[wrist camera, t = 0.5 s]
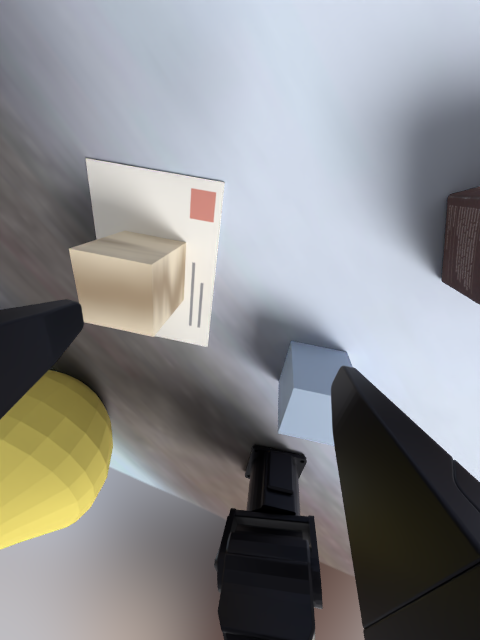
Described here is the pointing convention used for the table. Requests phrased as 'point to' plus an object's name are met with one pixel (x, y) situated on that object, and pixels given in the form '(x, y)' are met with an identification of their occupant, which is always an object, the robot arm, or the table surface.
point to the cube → (308, 391)
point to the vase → (51, 457)
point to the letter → (165, 230)
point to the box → (463, 243)
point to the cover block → (129, 280)
